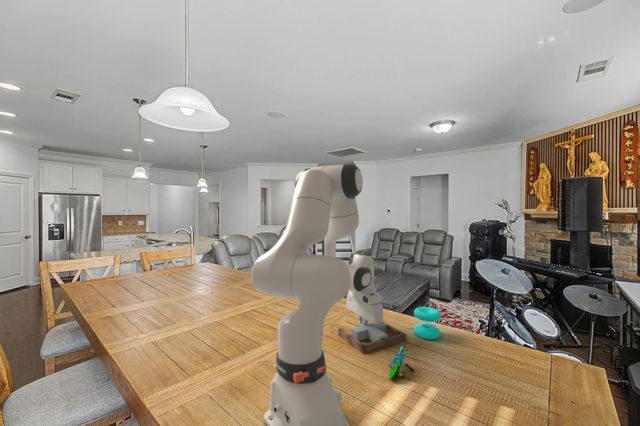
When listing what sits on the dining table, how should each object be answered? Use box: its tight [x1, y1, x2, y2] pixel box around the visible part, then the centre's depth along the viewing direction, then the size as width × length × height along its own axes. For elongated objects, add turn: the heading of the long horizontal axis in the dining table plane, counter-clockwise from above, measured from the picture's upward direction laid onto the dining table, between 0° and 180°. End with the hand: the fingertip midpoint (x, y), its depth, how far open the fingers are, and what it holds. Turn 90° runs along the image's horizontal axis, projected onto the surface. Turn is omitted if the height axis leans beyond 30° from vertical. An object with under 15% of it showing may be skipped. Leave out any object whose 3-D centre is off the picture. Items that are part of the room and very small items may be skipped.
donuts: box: [413, 306, 442, 341], centre depth 111 cm, size 10×10×10 cm
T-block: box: [350, 322, 389, 342], centre depth 108 cm, size 11×14×4 cm
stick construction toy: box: [388, 345, 415, 380], centre depth 86 cm, size 12×7×8 cm
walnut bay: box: [337, 320, 407, 354], centre depth 109 cm, size 16×20×2 cm
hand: (363, 327), depth 114 cm, fingers closed
